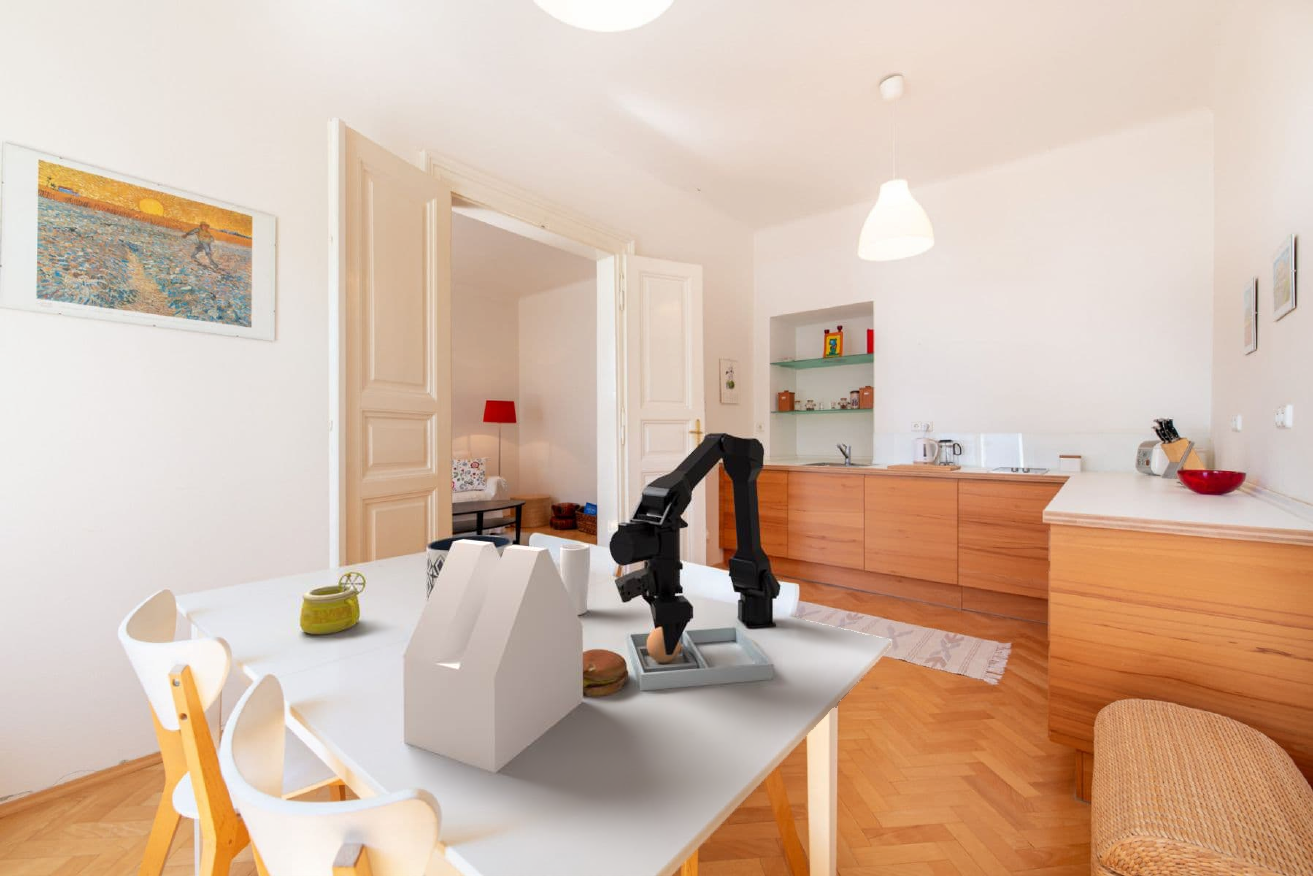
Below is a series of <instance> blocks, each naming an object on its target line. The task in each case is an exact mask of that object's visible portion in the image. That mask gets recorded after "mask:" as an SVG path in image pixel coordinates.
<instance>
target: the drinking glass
mask: <svg viewBox="0 0 1313 876" xmlns="http://www.w3.org/2000/svg"><path fill="white" fill-rule="evenodd" d="M559 549H560V550H559V551H560V552H559V568H560V571H559V572H560V577H561V579H562V581H563V584H564V586H565V588H566V590H567V592H568V595H569V597H570V599H571V601H572V604H573V606H574V608H575V610H576V612H577V615H578V616H581V615H583V614H585V613H586V612H587V611H588V594H589V583H590V570H591V569H590V568H591V546H590V545H589V544H585V543H568V544H564V545H563V544H562V545H561V546H560V548H559Z"/></svg>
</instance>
